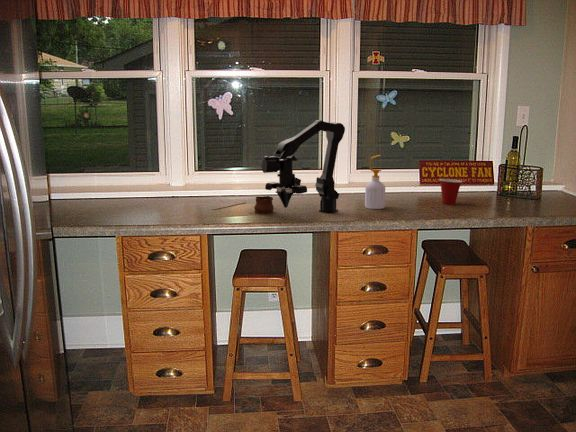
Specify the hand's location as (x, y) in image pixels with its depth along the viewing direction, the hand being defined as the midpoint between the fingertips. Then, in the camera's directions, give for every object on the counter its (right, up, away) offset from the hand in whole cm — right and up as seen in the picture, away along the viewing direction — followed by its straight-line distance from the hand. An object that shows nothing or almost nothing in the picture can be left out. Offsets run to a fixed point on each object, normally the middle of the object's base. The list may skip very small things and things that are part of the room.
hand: (285, 207), depth 236 cm
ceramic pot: (-10, -2, +8) cm, 13 cm away
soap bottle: (+41, 0, +19) cm, 46 cm away
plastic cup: (+79, +2, +29) cm, 85 cm away
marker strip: (-27, +1, +20) cm, 33 cm away
